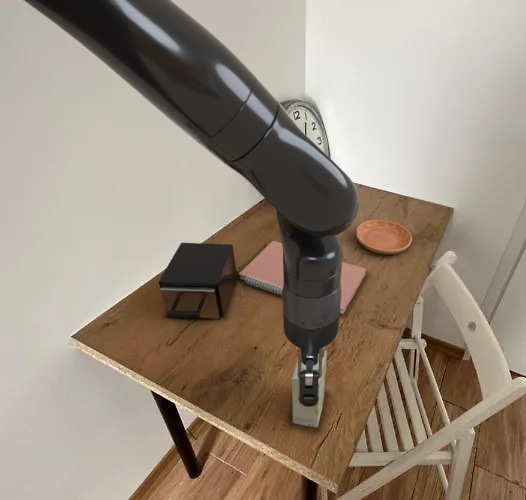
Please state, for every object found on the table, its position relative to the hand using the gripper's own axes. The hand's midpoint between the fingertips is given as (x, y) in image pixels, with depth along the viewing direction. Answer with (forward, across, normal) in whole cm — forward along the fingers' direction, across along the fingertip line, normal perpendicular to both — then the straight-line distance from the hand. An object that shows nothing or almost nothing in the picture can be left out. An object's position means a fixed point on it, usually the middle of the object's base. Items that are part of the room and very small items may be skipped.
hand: (310, 378), depth 56 cm
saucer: (+9, -51, +19) cm, 55 cm away
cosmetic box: (+9, 0, 0) cm, 9 cm away
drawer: (+8, -23, -25) cm, 35 cm away
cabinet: (+8, -27, -25) cm, 38 cm away
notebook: (+9, -34, -3) cm, 35 cm away
